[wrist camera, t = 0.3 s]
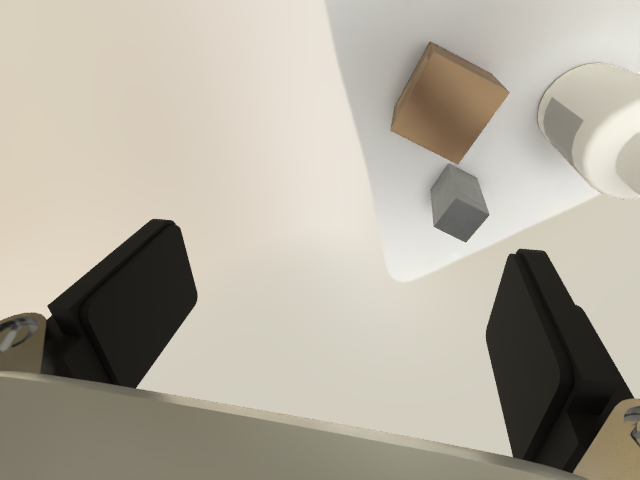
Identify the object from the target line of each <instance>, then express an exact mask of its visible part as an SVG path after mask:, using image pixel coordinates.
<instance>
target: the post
mask: <svg viewBox="0 0 640 480" xmlns="http://www.w3.org/2000/svg"><path fill="white" fill-rule="evenodd" d="M431 200H432V212H433V223H434V227H435V228H437V229H439V230H441V231H443V232H445V233H448V234H450V235H452V236H454V237H456V238H458V239H460V240H462V241H464V242H467V241H468V239H469V238H470V237H471V236H472V235H473V234H474V232H475V231H476V230H477V229H478V228H479V227H480V225H481V224H482V223H483V222H484V221H485V220H486V218H487V217H488V216H489V212H488V209H487V206H486V203H485V200H484V197H483V194H482V191H481V189H480V186H479V183H478V180H477V178H476V177H474V176H472V175H470V174H468V173H466V172H464V171H462V170H460V169H458V168H456V167H454V166H452V165H450V164H448V166H447V167H446V168H445V170H444V171H443V173H442V174H441V176H440V177H439V178H438V180H437V181H436V183H435V184H434V186H433V187H432V188H431Z"/></svg>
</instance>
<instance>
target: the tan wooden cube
mask: <svg viewBox="0 0 640 480" xmlns="http://www.w3.org/2000/svg"><path fill="white" fill-rule="evenodd" d="M509 93H510V92H509V91H508V90H507V89H506V88H505V87H504V86H503V85H502V84H501V83H500V82H499V81H498V80H497V79H496V78H495V77H494V76H493V75H492V74H491V73H489V72H487V71H485V70H483V69H481V68H479V67H477V66H475V65H474V64H472V63H470V62H468V61H466V60H464V59H462V58H460V57H458V56H456V55H455V54H453V53H451V52H449V51H447V50H445V49H443V48H441V47H439V46H438V45H436V44H434V43H432V42H430V43H429V44H428V46H427V48H426V50H425V52H424V54H423V56H422V57H421V59H420V61H419V63H418V65H417V67H416V68H415V70H414V72H413V74H412V76H411V78H410V80H409V81H408V83H407V85H406V87H405V89H404V91H403V92H402V94H401V96H400V98H399V100H398V102H397V104H396V105H395V107H394V113H393V119H392V125H391V131H393V132H395V133H397V134H399V135H401V136H403V137H405V138H407V139H409V140H411V141H412V142H414V143H416V144H418V145H420V146H422V147H424V148H426V149H428V150H430V151H432V152H434V153H436V154H438V155H440V156H442V157H444V158H446V159H448V160H450V161H452V162H454V163H456V164H459V162H460V161H461V160H462V158H463V157H464V155H465V154H466V153H467V151H468V150H469V148H470V147H471V146H472V144H473V143H474V141H475V140H476V139H477V137H478V136H479V134H480V133H481V132H482V130H483V129H484V127H485V126H486V125H487V123H488V122H489V121H490V119H491V118H492V116H493V115H494V114H495V112H496V111H497V109H498V108H499V107H500V105H501V104H502V102H503V101H504V100H505V98H506V97H507V95H508V94H509Z"/></svg>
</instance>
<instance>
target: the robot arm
mask: <svg viewBox="0 0 640 480" xmlns="http://www.w3.org/2000/svg"><path fill="white" fill-rule="evenodd" d="M196 302H197V290H196V286H195V283H194V279H193V275H192V271H191V267H190V264H189V260H188V256H187V252H186V248H185V244H184V240H183V237H182V233H181V230H180V227H178V226H177V225H176V224H175V223H174V222H173V221H171V220H162V219H152V220H150V221H149V222H148V223H147V224H145V225H144V226H143V227H142V228H141V229H139V230H138V231H137V232H136V233H135V234H133V235H132V236H131V237H130V238H129V239H127V240H126V241H125V242H124V243H123V244H121V245H120V246H119V247H118V248H116V249H115V250H114V251H113V252H112V253H110V254H109V255H108V256H107V257H106V258H105V259H103V260H102V261H101V262H100V263H98V264H97V265H96V266H95V267H94V268H92V269H91V270H90V271H89V272H88V273H86V274H85V275H84V276H83V277H82V278H80V279H79V280H78V281H77V282H75V283H74V284H73V285H72V286H71V287H70V288H68V289H67V290H66V291H65V292H63V293H62V294H61V295H60V296H59V297H57V298H56V299H55V300H54V301H53V302H51V303H50V304H49V305H48V308H49V310H50V312H51V313H52V316H51V317H50V318H49V319H47V320H46V318H45V317H44V316H43V315H41V314H38V313H22V314H18V315H14V316H11V317H8V318H6V319H3V320H1V321H0V480H640V399H635V398H634V397H633V395H632V393H631V392H630V390H629V388H628V386H627V385H626V383H625V382H624V379H623V378H622V376H621V374H620V372H619V371H618V369H617V367H616V366H615V364H614V362H613V360H612V359H611V357H610V355H609V353H608V352H607V350H606V348H605V346H604V345H603V343H602V341H601V340H600V338H599V336H598V334H597V333H596V331H595V329H594V327H593V326H592V324H591V322H590V320H589V319H588V317H587V315H586V314H585V312H584V311H583V309H582V308H581V307H579V306H577V305H575V304H574V302H573V300H572V298H571V296H570V295H569V293H568V291H567V289H566V287H565V286H564V284H563V282H562V281H561V279H560V277H559V275H558V273H557V271H556V270H555V268H554V266H553V264H552V262H551V261H550V259H549V257H548V255H547V254H546V252H545V251H541V250H529V249H528V250H527V249H519V250H518V251H517V252H516V254H509V256H508V258H507V261H506V265H505V268H504V272H503V275H502V278H501V282H500V285H499V288H498V292H497V295H496V298H495V302H494V305H493V309H492V312H491V315H490V319H489V322H488V325H487V330H486V342H487V346H488V351H489V355H490V360H491V364H492V368H493V372H494V376H495V381H496V385H497V390H498V394H499V398H500V402H501V406H502V411H503V415H504V420H505V424H506V428H507V433H508V437H509V441H510V445H511V449H512V454H513V457H509V456H504V455H499V454H495V453H489V452H484V451H479V450H474V449H469V448H464V447H459V446H454V445H449V444H444V443H439V442H434V441H429V440H424V439H418V438H413V437H407V436H401V435H396V434H391V433H384V432H379V431H374V430H368V429H363V428H357V427H352V426H346V425H341V424H335V423H330V422H324V421H319V420H313V419H308V418H302V417H296V416H291V415H285V414H279V413H274V412H268V411H262V410H256V409H251V408H245V407H240V406H234V405H228V404H222V403H217V402H211V401H205V400H199V399H194V398H188V397H182V396H176V395H170V394H164V393H158V392H153V391H146V390H141V389H136V387H137V385H138V384H139V383H140V382H141V380H142V379H143V377H144V376H145V375H146V373H147V372H148V370H149V369H150V368H151V366H152V365H153V363H154V362H155V360H156V359H157V358H158V356H159V355H160V354H161V352H162V351H163V349H164V348H165V347H166V345H167V344H168V342H169V341H170V339H171V338H172V337H173V335H174V334H175V333H176V331H177V330H178V328H179V327H180V326H181V324H182V323H183V321H184V320H185V319H186V317H187V316H188V314H189V313H190V312H191V310H192V309H193V307H194V306H195V304H196Z"/></svg>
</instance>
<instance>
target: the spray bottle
mask: <svg viewBox="0 0 640 480" xmlns="http://www.w3.org/2000/svg"><path fill="white" fill-rule="evenodd" d="M537 118H538V123H539V128H540V130H541V131H542V133H543V134H544V135H545V137H546V138H547V139H548V140H549V141H550V142H551V144H552V145H553V146H554V147H555V148H556V149H557V150H558V151H559V152H560V153H561V154H562V155H563V157H564V158H565V159H566V160H567V161H568V162H569V163H570V164H571V165H572V166H573V167H574V169H575V170H576V171H577V172H578V173H579V174H580V175H581V176H582V177H583V178H584V179H585V180H586V182H587V183H588V184H589V185H590V186H591V187H592V188H594V189H596V190H597V191H599V192H600V193H602V194H604V195H606V196H610V197H614V198H619V199H640V75H639V74H636V73H634V72H631V71H628V70H625V69H622V68H620V67H617V66H614V65H609V64H604V63H593V64H584V65H582V66H579V67H577V68H574V69H572V70H569V71H568V72H567V73H565V74H564V75H562V76H561V77H560V78H558V79H557V80H556V81H555V82H554V83H553V84H552V85H551V86H550V87H549V89H548V90H547V91H546V92H545V94H544V96H543V98H542V100H541V102H540V104H539V110H538V116H537Z"/></svg>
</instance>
